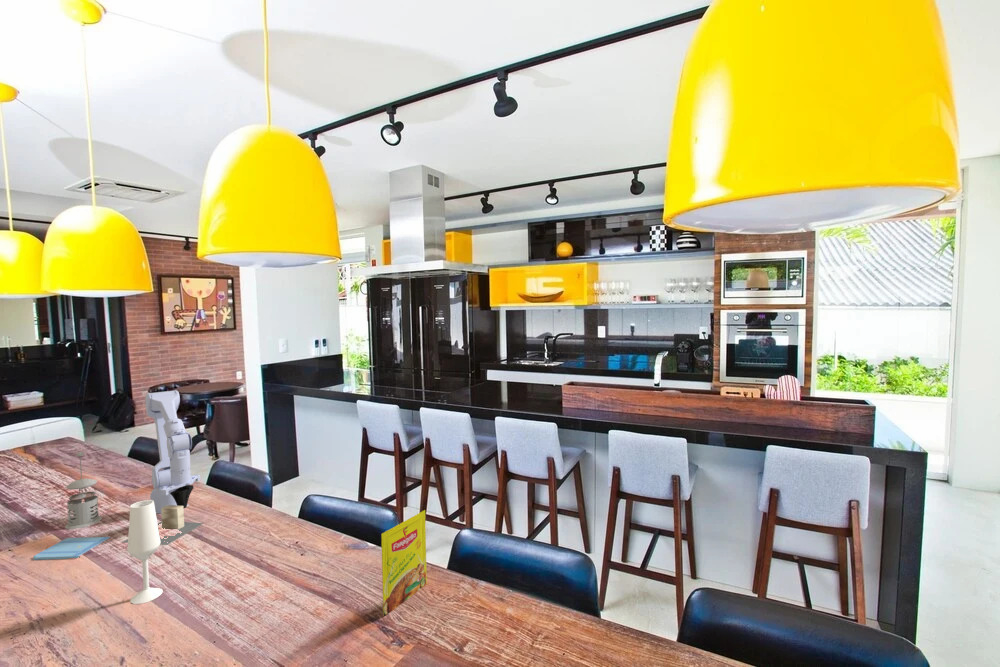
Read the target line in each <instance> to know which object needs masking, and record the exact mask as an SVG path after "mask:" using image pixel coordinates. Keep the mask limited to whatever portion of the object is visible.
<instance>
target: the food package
mask: <svg viewBox="0 0 1000 667" xmlns="http://www.w3.org/2000/svg"><path fill="white" fill-rule="evenodd" d="M426 528H427V527H426V510H425V509H424V510H422V511H420V512H419V513H417V514H415V515H414V516H412V517H410V518H408V519H406V520H404V521H402V522H401V523H399V524H397V525H395V526H394V527H392V528H390V529H387V530H385V531H384V532H382V533H381V534H380V535H381V538H380V539H381V569H382V570H381V572H382V576H381V577H382V607H383V609H382V611H383V617H384V618H385V617H386V616H387V615H389V614H390V613H391V612H393V611H394V610H395V609H396V608H398V607H400V606H401V605H402V604H403V603H405V602H406V601H407V600H408V599H410V598H411V597H413V596H414V595H415V594H416V593H418V592H419V591H421V590H422V589H423V588H424V587H426V586H427V585H428V576H427V574H428V573H427V535H426V533H427V531H426Z"/></svg>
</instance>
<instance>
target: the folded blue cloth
mask: <svg viewBox="0 0 1000 667" xmlns="http://www.w3.org/2000/svg"><path fill="white" fill-rule="evenodd" d="M110 538H111V536H96V537H95V536H94V537H93V536H92V537H87V536H86V537H66V538H64V539H62V540H61V541H59V542H57V543H55V544H54V545H51V546H49V547H48V548H46V549H44V550H42V551H41V552H39V553H37V554H35V555H33V557H32V559H33V561H39V560H42V561H43V560H44V561H45V560H67V559H68V558H78V557H79V558H81V557H80V556H81V555H83V554H85V553H87V552H88V551H90V550H91V549H93V548H95V547H96V546H98V545H100V544H101V543H103V542H106V541H107V540H108V539H110ZM79 558H78V559H79ZM68 560H69V559H68Z"/></svg>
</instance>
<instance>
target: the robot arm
mask: <svg viewBox="0 0 1000 667" xmlns="http://www.w3.org/2000/svg"><path fill="white" fill-rule="evenodd" d="M180 402H181V398H180V393H179V391H178V390H177V389H174V390H167V391H158V392H147V393H146V394H145V396H144V403H145V404H144V405H145V411H146V412H145V413H146V414H147V417H149V418H153V421H154V424H155V425H154V426H155V431H156V432H155V433H156V439H157V447H158V454H159V461H158V462H157V463H156V464H155V465H154V466H153V467H152V469H151V482H152V483H151V484H152V486H153V489H152V490H151V493H150V496H149V497H150V499H149V500H153V501H154V505H155V511H156V514H161V515H162V513H161V508H163V507H165V506H167V505H176V506H183V508H184V509H187V507H188V506H189V504H188V503H189V498H190V495H191V493H192V492H193V489H194V485H193V484H194V482H198V481H200V480H201V475H200V474H193V475H192V474H191V469H192V468H191V452H190V450H192V447H193V440H192V436H191V433H190V432H189V431H187V430H186V428H185V426H184V422H183V420H182V419H181V418H178V415H177V411H178V409H179V406H180V404H181V403H180Z"/></svg>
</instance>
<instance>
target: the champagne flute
mask: <svg viewBox="0 0 1000 667" xmlns="http://www.w3.org/2000/svg"><path fill="white" fill-rule="evenodd" d="M129 508H130V509H129V520H128V521H129V523H128V533H127V534H128V536H127V539H128V543H127V553H128V554H129V555H130V556H131V557H133V558H135V559H137V560H141V564H142V583H143V584H142V585H143V587H142V588H143V589H141V590H140V591H139V592H137V593H136V594H135V595H133V596H132V597H131V598H130V600H129V602H130V604H134V605H139V604H145V603H149V602H151V601H153V600H156V598H159V596H161V595H162V594H163V592H164V591H163V589H162V588H161V587H160V588H158V587H150V576H149V575H150V574H149V558H150V557H152V555H154V553H156V552H157V550H158V549H159V547H160V546H161V545H160V543H161V541H160V535H159V529H158V523H159V522H158V519H157V517H158V516H157V513H156V511H155V505H154V501H153V500H150V499H146V500H145V499H144V500H141V501H137V502H134V503H132V504H130V506H129Z"/></svg>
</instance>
